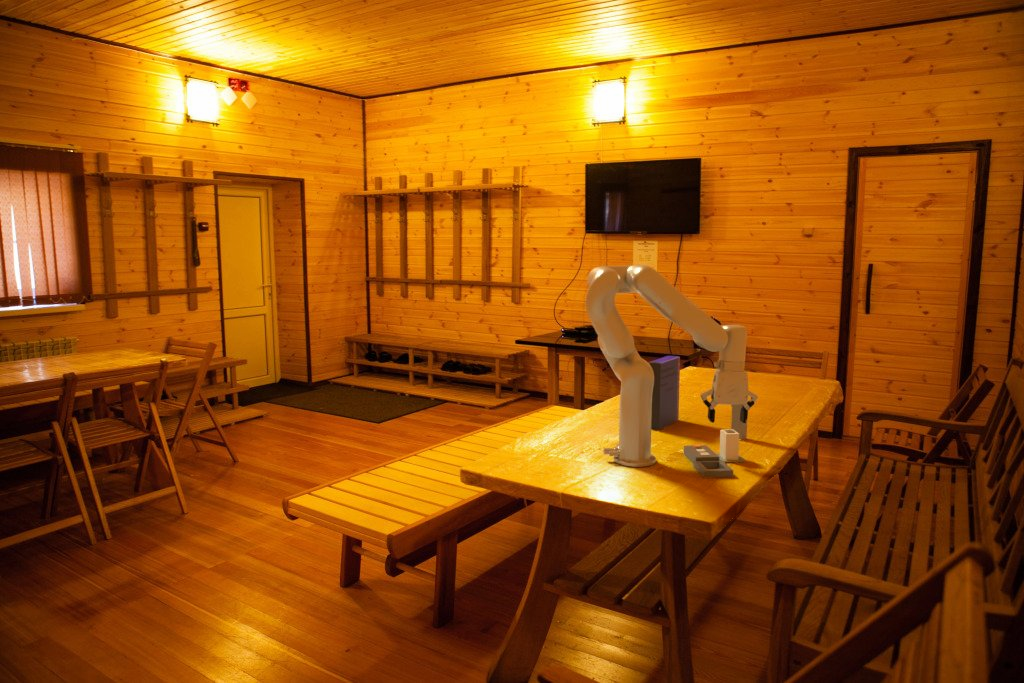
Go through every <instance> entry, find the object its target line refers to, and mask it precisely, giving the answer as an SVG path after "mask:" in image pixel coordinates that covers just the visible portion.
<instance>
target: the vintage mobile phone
mask: <svg viewBox="0 0 1024 683" xmlns="http://www.w3.org/2000/svg"><path fill="white" fill-rule="evenodd" d="M730 406H731V423H730V424H731V426H730V429H733V430H735V431H736V432H738V433H739V439H741V440H740V441H743V440H745V439H746V438H747V437H748V434H747V433H748V419H747V420H746V423H743V422H741V421H740V411H741V408H742V406H741V405H730Z"/></svg>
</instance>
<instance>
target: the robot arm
mask: <svg viewBox="0 0 1024 683" xmlns="http://www.w3.org/2000/svg"><path fill="white" fill-rule="evenodd" d="M586 283H587V286H588V289H587V292H586V294H585V303H584V304H585V310H586V313H587V316H588V318H589V321H590V323H591V325H592V328H594V331H595V333H596V334H597V343H598V346H599V348H600V351H601V352H602V354H603V356H604V357H605V359H606V361H607V362H608V364H609V366H610V368H611V370H612V371H613V373H614V375H615V376H616V378H617V379H618V380H619V381H620V392H619V406H618V408H619V412H618V413H619V415H618V416H619V418H618V419H619V421H618V426H619V428H618V432H619V433H618V443H617V444H616V446H613V447H604V448H603V449H602V452H603V455H608V456H610V457H613V460H614V462H615V463H616V464H618V465H621V466H626V467H634V468H640V467H649V466H653V465H654V464H656V462H657V458H656V456H655V455H654V454H652V449H651V448H652V429H651V418H652V392H653V385H654V372H653V369H652V367H651V366H650V364H649V363H648V362H649V361H647V360H645V359H644V358H642V357H641V355H640V354H639V352H638V350H637V348H636V347H635V339H634V335H632V333H631V331H630V329H629V328H628V327H627V324H626V323H625V321H624V320H623V318H622V317H621V314H620V311H619V310H618V309H617V305H616V296H617V294H630V293H631V294H632V293H636V294H637V295H638V296H640V297H641V298H642V299H643V300H645V302H647V304H649V305H650V306H651V307H653V308H654V309H655V310H656V312H658V313H659V314H660V315H662V316H663V317H664V318H665V319H667V320H668V321H669V322H671V323H673V324H675V325H677V326H678V327H680V328H681V329H683V330H685V331H686V332H687V333H688V334H690V335H691V337H692V340H693V342H694V343H695V345H697V346H698V347H700V348H703V349H705V350H707V351H709V352H713V353H718V359H717V361H714V362H713V366H714V367H716V369H715V371H714V376H713V378H712V379H713V380H712V386H711V388H710V389H708V390H706V391H703V392H701V393H699V394H700V399H701V400H702V403H703V404H704V405H705V406H706V407H707V420H708V421H709V422H710V423H715V419H716V410H715V408H716V406H718V405H726V406H727V405H730V406H731V405H741V406H742V408H741V411H740V421H741V422H743V423H746V420H747V421H748V418H749V416H748V415H749V411H750V409H751V408H752V407H753V406H754V405H755V403H756V401H757V400H758V398H759V396H758V394H755V393H753V392H751V391H750V390H749V377H748V371H746V370H745V366H746V355H747V354H746V353H747V351H746V350H747V341H748V339H747V338H748V329H747V327H745V325H741V324H725V325H724V324H719V323H718V322H716V320H714V318H713V317H711V316H710V315H709V314H707V313H706V311H704V310H703V309H702V308H700V307H699V306H698V305H696V304H695V303H694V302H693V301H692V300H691V299H690V298H688V297H687V296H686V295H685V294H683V293H682V292H681V291H680V290H678V288H676V287H675V286H674V285H673V284H672V283H671V282H669V281H668V280H667V279H666V278H665V277H664V276H663V275H662V274H660V273H659V272H658V271H657V270H656V269H654V268H653V267H651V266H650V265H645V264H631V265H606V266H605V265H603V266H596V267H594V268H593V269H591V271H590V272H589V274H588V275H587V279H586ZM709 396H710V399H711V400H710V401H709V400H708V397H709ZM749 397H750V399H749Z"/></svg>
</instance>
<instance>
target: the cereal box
mask: <svg viewBox="0 0 1024 683" xmlns="http://www.w3.org/2000/svg"><path fill="white" fill-rule="evenodd" d="M647 362H648V363H649V364H650V366H651V367H652V369H653V372H654V385H653V392H652V418H651V430H653V429H655V430H654V431H661V430H662V428H663V429H664V427H665V428H667V427H668V426H670V425H672V424H674V423H676V422H678V421H679V418H680V417H679V415H680V413H679V412H680V410H679V408H680V379H681V377H680V376H681V375H680V374H681V372H680V371H681V357H680V356H678V355H677V356H676V355H666V356H663V357H660V358H657V359H654V360H651V361H647ZM677 420H678V421H677ZM675 421H676V422H675ZM666 426H667V427H666ZM660 429H661V430H660Z"/></svg>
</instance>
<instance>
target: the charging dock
mask: <svg viewBox="0 0 1024 683" xmlns="http://www.w3.org/2000/svg"><path fill="white" fill-rule="evenodd" d="M684 455H685V456H686V457H687V458H688V459H689V460H690V461H691V462H692V463H693V464H692V463H691V462H690V461H689V460H688V459H687V458H686V457H685V456H684ZM683 456H684V457H685V458H686V459H687V460H688V461H689V462H690V463H691V464H692V466H693V469H695V471H696V470H697V471H698V472H699V473H700V474H701V475H702V476H703V477H720V478H734V469H733V468H732V467H730V466H729V465H728V463H724V462H723V461H722V460H719V456H718V455H717V454H716V452H714V450H712V449H711V448H710V447H709V446H708V445H707V444H704V445H703V444H694V445H684V446H683ZM707 468H713V469H707ZM718 468H719V469H718ZM698 472H697V473H698ZM699 473H698V474H699ZM700 474H699V475H700ZM701 475H700V476H701ZM702 476H701V477H702Z"/></svg>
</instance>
